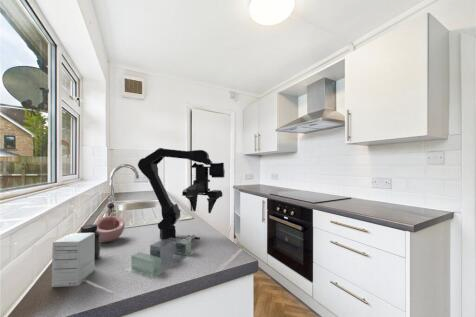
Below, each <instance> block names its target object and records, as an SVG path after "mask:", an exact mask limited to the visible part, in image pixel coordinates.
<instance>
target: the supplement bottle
mask: <svg viewBox="0 0 476 317" xmlns="http://www.w3.org/2000/svg"><path fill="white" fill-rule="evenodd" d="M96 230H97V225H96V224H94V223H93V224H86V225H83V226H81V227H80V231H79V233H95V255H94V262H95V261H97V260H99V259H100V257H101V241H100V233H99V232H97V231H96Z"/></svg>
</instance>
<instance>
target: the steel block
mask: <svg viewBox="0 0 476 317" xmlns="http://www.w3.org/2000/svg"><path fill="white" fill-rule="evenodd" d="M149 255H152V256H156V257H160V258H161V265H162V264H164V263H166V262H168V261H169V260H171V259H173V241H170V240H165V239H163V240H161V239H160V240H159V241H157V242H154V243H152V244H150V245H149Z"/></svg>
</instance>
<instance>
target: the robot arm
mask: <svg viewBox="0 0 476 317" xmlns="http://www.w3.org/2000/svg"><path fill="white" fill-rule="evenodd" d="M164 158H173V159H184V160H189V161H193V162H194V163H193V164H192V165H191V166H190V168H192V169H195V179H194V180H193V181H192V184H191V185H189V186H188V187H185V188H184V189H183V190H182V193H181V194H182V196H183V197H185V198H186V199H188V201H189V203H190V205H191V208H192V211H193V212H196V210H197V204H198V196H207V197H208V198H206V200H207V202H208V206H207V207H208V208H207V211H208V214H211V213H212V210H213V209H214V207H215V204H216V202H217V200H218V199H220V198H222V197H223V192H222V190H219V189H213V190H212V189H211V188H209V183H210V182H211V179H209V176H211V178H215V179H216V178H218V179H219V178H222V179H223V178H225V173H226V172H225V163H224V162H219V163H218V162H217V163H216V162H215V163H214V162H213V161H212V160H211V159H210V155H209V152H208V151H205V150H203V149H195V150H178V149H168V148H162V147H159V148H157V149H155V151H153V152H152V153H150V154H148V155H147V156H144V157H142V158H141V159H139V160H138V163H137V167H138V169H139V170H140V172H141V174H143V175H144V176H145V177H146V178H147V179H148V181H149V183H150V187H152V191H153V192H154V194H155V196H156V198H157V201H158V203H159V205H160V207H161V218H162V220H161V221H159V223H158V224H157V228H158V229H159V239H160V241H161V240H163V239H165V240H166V239H169V238H171V237H172V238H177V237H176V236H177V234H176V233H177V232H176V223H177V222H178V221H179V220H180V218H181V211H182V210H181V209H180V208H179V205H178V203H175V204H174V203H173V202H172V200H171V198H170V197H169V195H168V192H167V191H166V188H165V186H164V184H163V182H162V180H161V178H160V175H159V168H158V165H159V164H160V163H161V161H162V160H164ZM205 165H207V166H205Z"/></svg>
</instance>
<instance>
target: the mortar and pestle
mask: <svg viewBox="0 0 476 317" xmlns="http://www.w3.org/2000/svg"><path fill="white" fill-rule="evenodd" d="M93 224H96V225H97V230H96V231H97V232H99V233H100V243H101V242H102V243H109V242H113V241H115V240H117V239H118V238H119V237H121V235H122V234H123V232H124V230H125V227H126V226H125V220H124V219H123V218H122V217H121V216H119V215H118V216H117V215H107V216H106V215H105V216H103V217H101V218H98V219H97V220H96V221H95V222H94V223H93Z"/></svg>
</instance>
